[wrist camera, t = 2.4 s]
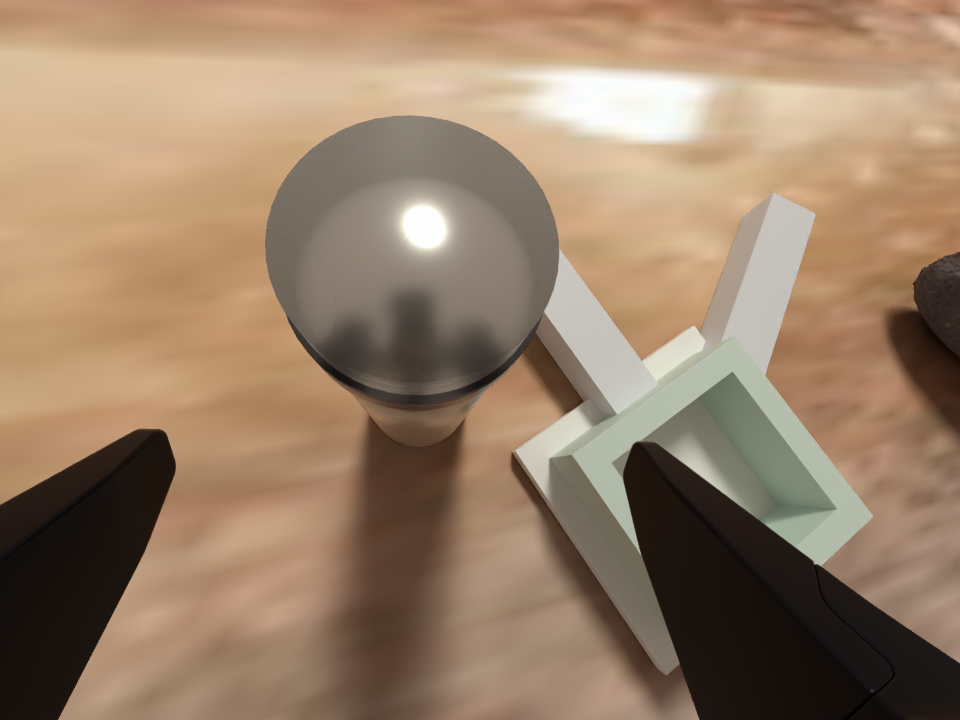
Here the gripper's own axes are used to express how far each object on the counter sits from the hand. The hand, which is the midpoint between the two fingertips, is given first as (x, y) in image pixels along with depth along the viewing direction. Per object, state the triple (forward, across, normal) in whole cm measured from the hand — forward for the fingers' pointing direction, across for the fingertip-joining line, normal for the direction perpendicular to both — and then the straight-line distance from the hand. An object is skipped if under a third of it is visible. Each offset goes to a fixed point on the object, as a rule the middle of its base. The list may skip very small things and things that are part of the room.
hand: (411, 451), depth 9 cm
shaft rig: (+11, -11, +4) cm, 16 cm away
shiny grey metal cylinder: (+9, 0, +6) cm, 11 cm away
